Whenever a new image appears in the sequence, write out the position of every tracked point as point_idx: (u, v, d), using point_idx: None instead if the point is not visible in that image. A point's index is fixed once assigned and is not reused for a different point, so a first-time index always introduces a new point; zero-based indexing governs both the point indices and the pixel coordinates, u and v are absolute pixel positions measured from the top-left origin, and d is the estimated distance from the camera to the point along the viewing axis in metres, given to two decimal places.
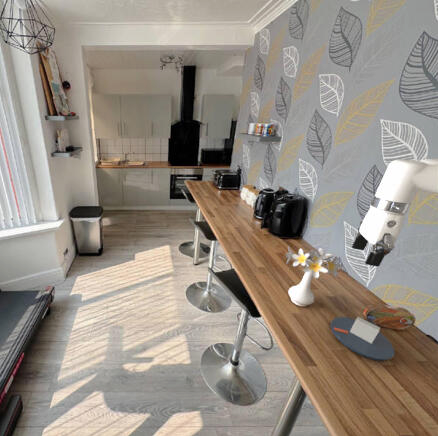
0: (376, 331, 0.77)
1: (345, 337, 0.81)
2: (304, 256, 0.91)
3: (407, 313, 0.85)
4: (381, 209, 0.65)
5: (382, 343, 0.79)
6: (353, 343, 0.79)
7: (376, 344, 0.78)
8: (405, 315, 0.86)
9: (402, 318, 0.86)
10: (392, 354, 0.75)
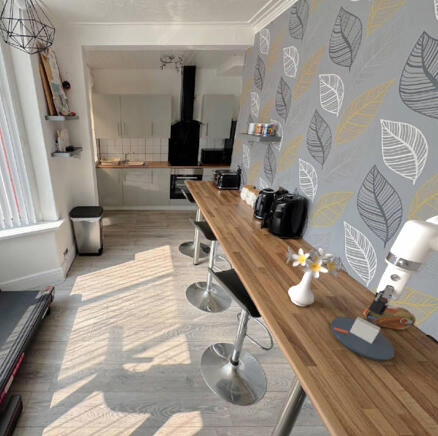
0: (376, 331, 0.77)
1: (345, 337, 0.81)
2: (304, 256, 0.91)
3: (407, 313, 0.85)
4: (389, 262, 0.69)
5: (382, 343, 0.79)
6: (353, 343, 0.79)
7: (376, 344, 0.78)
8: (405, 315, 0.86)
9: (402, 318, 0.86)
10: (392, 354, 0.75)
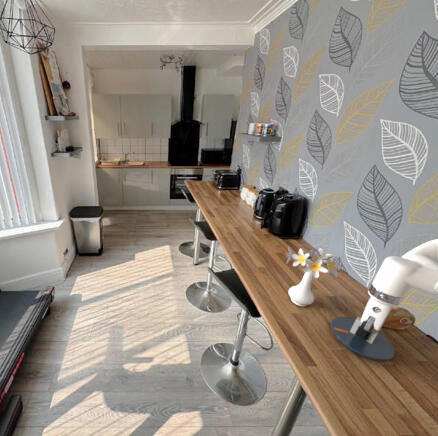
0: (376, 331, 0.77)
1: (345, 337, 0.81)
2: (304, 256, 0.91)
3: (407, 313, 0.85)
4: (371, 294, 0.74)
5: (382, 343, 0.79)
6: (353, 343, 0.79)
7: (376, 344, 0.78)
8: (405, 315, 0.86)
9: (402, 318, 0.86)
10: (392, 354, 0.75)
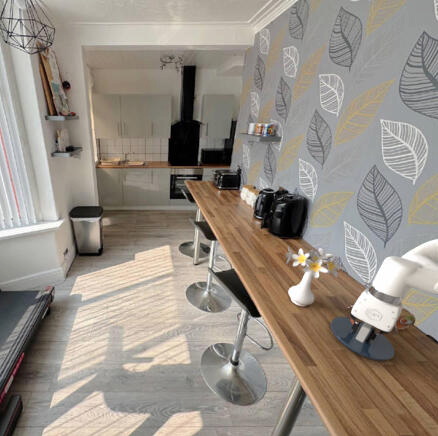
0: (361, 326, 0.78)
1: (346, 322, 0.87)
2: (304, 256, 0.91)
3: (407, 313, 0.85)
4: None
5: (364, 348, 0.77)
6: (341, 324, 0.86)
7: (357, 342, 0.79)
8: (405, 315, 0.86)
9: (402, 318, 0.86)
10: (352, 347, 0.77)
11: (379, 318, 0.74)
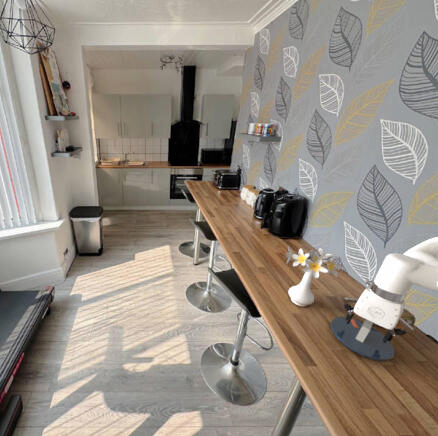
0: (361, 326, 0.78)
1: (346, 322, 0.87)
2: (304, 256, 0.91)
3: (407, 313, 0.85)
4: None
5: (364, 348, 0.77)
6: (341, 324, 0.86)
7: (357, 342, 0.79)
8: (405, 315, 0.86)
9: (402, 318, 0.86)
10: (352, 347, 0.77)
11: (382, 316, 0.74)
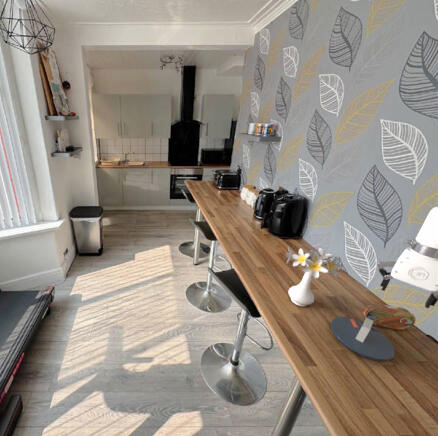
0: (361, 326, 0.78)
1: (346, 322, 0.87)
2: (304, 256, 0.91)
3: (407, 313, 0.85)
4: None
5: (364, 348, 0.77)
6: (341, 324, 0.86)
7: (357, 342, 0.79)
8: (405, 315, 0.86)
9: (402, 318, 0.86)
10: (352, 347, 0.77)
11: (425, 277, 0.67)
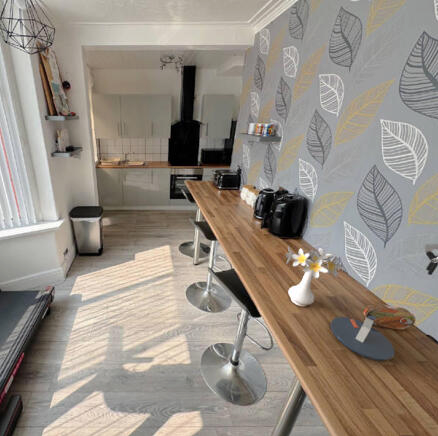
0: (361, 326, 0.78)
1: (346, 322, 0.87)
2: (304, 256, 0.91)
3: (407, 313, 0.85)
4: None
5: (364, 348, 0.77)
6: (341, 324, 0.86)
7: (357, 342, 0.79)
8: (405, 315, 0.86)
9: (402, 318, 0.86)
10: (352, 347, 0.77)
11: None
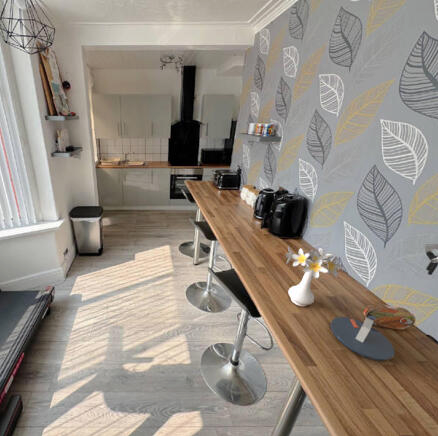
0: (361, 326, 0.78)
1: (346, 322, 0.87)
2: (304, 256, 0.91)
3: (407, 313, 0.85)
4: None
5: (364, 348, 0.77)
6: (341, 324, 0.86)
7: (357, 342, 0.79)
8: (405, 315, 0.86)
9: (402, 318, 0.86)
10: (352, 347, 0.77)
11: None
